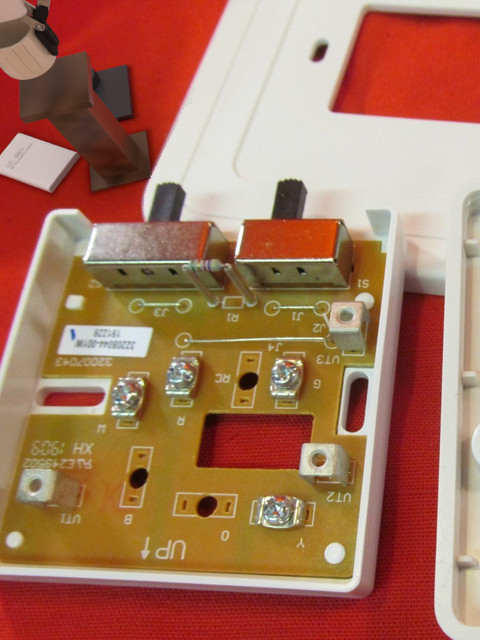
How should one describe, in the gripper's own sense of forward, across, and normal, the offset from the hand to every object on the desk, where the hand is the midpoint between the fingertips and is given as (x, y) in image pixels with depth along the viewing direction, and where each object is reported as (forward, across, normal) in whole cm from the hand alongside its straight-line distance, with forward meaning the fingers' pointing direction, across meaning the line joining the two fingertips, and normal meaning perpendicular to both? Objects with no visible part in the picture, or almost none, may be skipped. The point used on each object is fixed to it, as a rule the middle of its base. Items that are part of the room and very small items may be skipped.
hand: (26, 54), depth 95 cm
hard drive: (+24, +13, -4) cm, 28 cm away
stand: (+23, -1, 0) cm, 23 cm away
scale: (+23, +1, -15) cm, 28 cm away
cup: (+1, 0, 0) cm, 1 cm away
